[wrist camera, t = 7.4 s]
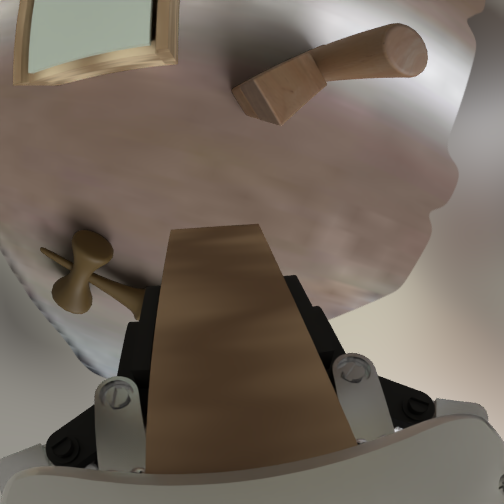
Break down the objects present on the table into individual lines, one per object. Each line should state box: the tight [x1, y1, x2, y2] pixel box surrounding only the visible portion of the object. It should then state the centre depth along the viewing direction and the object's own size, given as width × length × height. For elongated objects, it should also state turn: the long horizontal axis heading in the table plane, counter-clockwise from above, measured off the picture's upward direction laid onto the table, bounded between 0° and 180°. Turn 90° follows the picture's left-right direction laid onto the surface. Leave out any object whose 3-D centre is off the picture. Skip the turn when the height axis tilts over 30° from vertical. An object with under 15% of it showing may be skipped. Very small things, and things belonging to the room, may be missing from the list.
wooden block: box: [232, 23, 428, 126], centre depth 20 cm, size 4×11×18 cm, turn 121°
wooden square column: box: [146, 224, 358, 474], centre depth 9 cm, size 5×5×12 cm
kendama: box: [40, 230, 146, 320], centre depth 34 cm, size 6×10×20 cm
